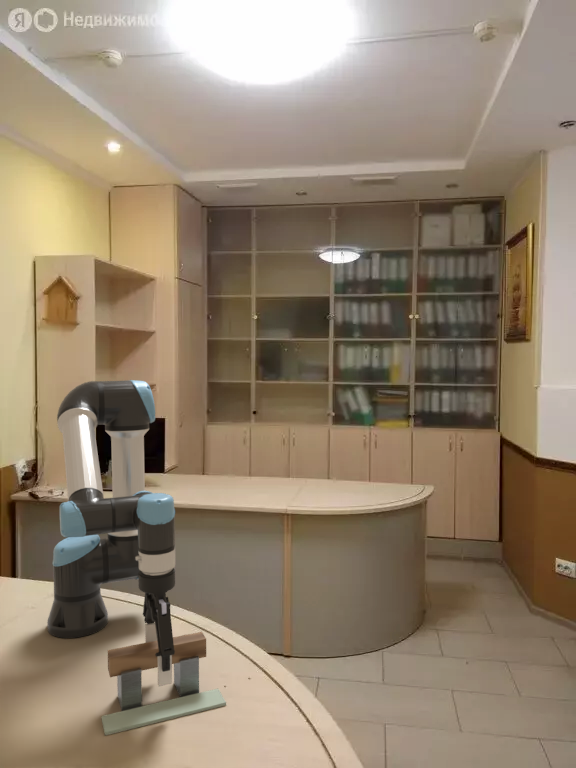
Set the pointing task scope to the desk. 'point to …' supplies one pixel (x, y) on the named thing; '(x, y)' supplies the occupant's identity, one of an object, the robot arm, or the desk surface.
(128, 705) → the cradle posts
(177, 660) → the rail
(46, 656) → the desk surface
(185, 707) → the mat
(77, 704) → the desk surface
